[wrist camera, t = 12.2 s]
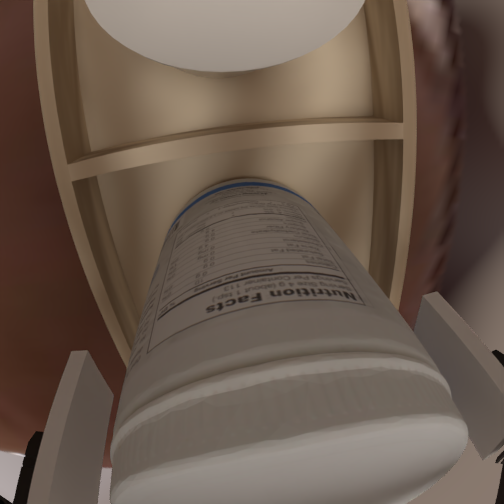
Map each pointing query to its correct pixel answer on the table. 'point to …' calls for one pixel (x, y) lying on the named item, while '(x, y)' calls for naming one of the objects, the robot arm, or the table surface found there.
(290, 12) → the sugar pot
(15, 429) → the table surface
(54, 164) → the caddy
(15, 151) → the table surface
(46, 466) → the robot arm
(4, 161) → the table surface
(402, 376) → the supplement tub
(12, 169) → the table surface
